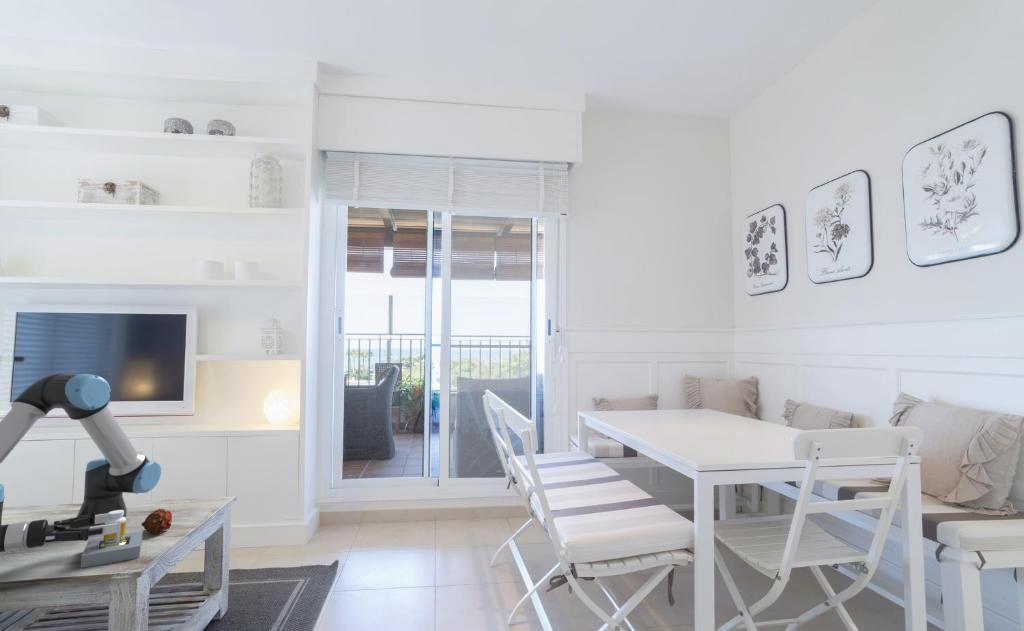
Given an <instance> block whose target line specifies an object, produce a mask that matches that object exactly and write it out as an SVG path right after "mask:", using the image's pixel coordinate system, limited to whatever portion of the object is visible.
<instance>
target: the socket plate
mask: <svg viewBox="0 0 1024 631" xmlns="http://www.w3.org/2000/svg"><path fill="white" fill-rule="evenodd" d="M143 533H144V532H143V530H141V531H132V532H128V533H127V532H125V540H127V544H126V545H119V546H113V547H107V548H101V545H102V544H103V540H104V536H102V537H101V536H99V537H93V538H88V540H87V543H86V545H85V548H84V549H83V551H82V554H81V559H80V560H81V561H80V569H81V568H82V567H83V568H87V567H93V566H98V565H99V566H100V565H103V564H104V565H105V564H111V563H116V562H121V561H129V560H134V559H140V556H141V548H142V545H143V544H142V543H143ZM83 568H82V569H83Z"/></svg>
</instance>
